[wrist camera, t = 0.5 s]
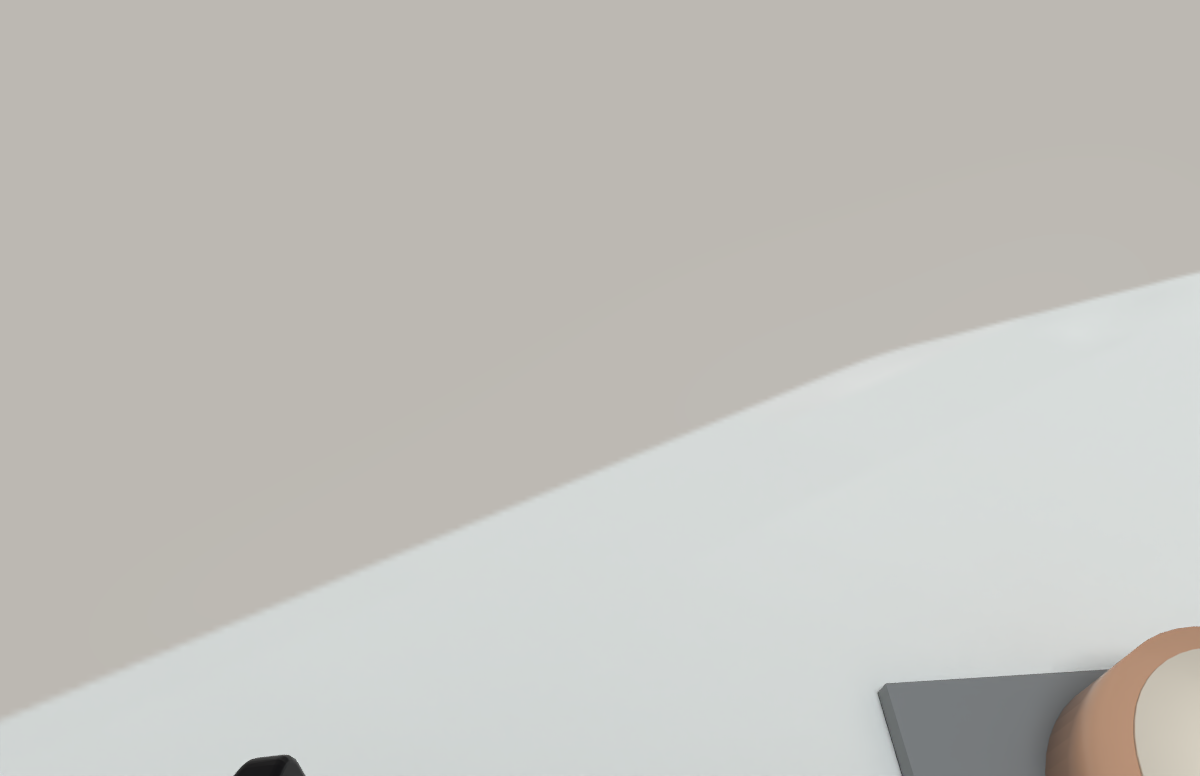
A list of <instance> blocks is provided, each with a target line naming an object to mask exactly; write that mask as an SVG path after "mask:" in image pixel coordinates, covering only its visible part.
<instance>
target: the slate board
mask: <svg viewBox="0 0 1200 776" xmlns="http://www.w3.org/2000/svg"><path fill="white" fill-rule="evenodd" d="M1107 671H1108V670H1094V671H1078V672H1062V673H1046V674H1030V675H1014V676H998V677H982V678H966V679H950V680H934V681H918V682H903V683H887V684H885V685H884V686H883V687H882V689H881V690H880V691H879V692H878V694H879V698H880V701H881V704H882V708H883V711H884V714H885V718H886V721H887V725H888V728H889V731H890V735H891V738H892V741H893V745H894V748H895V752H896V755H897V758H898V762H899V765H900V768H901V772H902V775H903V776H1045V767H1046V753H1047V748H1048V743H1049V738H1050V735H1051V732H1052V730H1053V727H1054V724H1055V722H1056V720H1057V719H1058V717H1059V715H1060V714H1061V712H1062V710H1063V709H1064V708H1065V707H1066V705H1067V704H1068V703H1069V702H1070V701H1071V700H1072V699H1073V698H1074V697H1075V696H1076V695H1078V694H1079V693H1080V692H1081V691H1083V690H1084V689H1085V688H1086V687H1088V686H1089V685H1090V684H1091V683H1093V682H1094V681H1095V680H1097V679H1098V678H1099V677H1100V676H1102V675H1103V674H1104V673H1105V672H1107Z"/></svg>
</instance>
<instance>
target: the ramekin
mask: <svg viewBox="0 0 1200 776" xmlns="http://www.w3.org/2000/svg"><path fill="white" fill-rule="evenodd" d="M1045 776H1200V627H1186V628H1178V629H1174V630H1170V631H1167V632H1164V633H1160V634H1158V635H1156V636H1154V637H1152V638H1150V639H1148V640H1146V641H1145V642H1144V643H1142V644H1141V645H1140V646H1139V647H1137V648H1136V649H1135V650H1133V651H1132V652H1131V653H1130V654H1128V655H1127V656H1126V657H1124V658H1123V659H1122V660H1121V661H1119V662H1118V663H1117V664H1116V665H1114V666H1113V667H1112V668H1111V669H1109V670H1108V671H1107V672H1105V673H1104V674H1103V675H1102V676H1100V677H1099V678H1098V679H1097V680H1095V681H1094V682H1093V683H1091V684H1090V685H1089V686H1088V687H1086V688H1085V689H1084V690H1083V691H1081V692H1080V693H1079V694H1078V695H1076V696H1075V697H1074V698H1073V699H1072V700H1071V701H1070V702H1069V703H1068V704H1067V705H1066V707H1065V708H1064V709H1063V710H1062V712H1061V714H1060V715H1059V717H1058V719H1057V720H1056V722H1055V724H1054V727H1053V730H1052V732H1051V735H1050V738H1049V743H1048V748H1047V753H1046V767H1045Z"/></svg>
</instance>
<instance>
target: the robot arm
mask: <svg viewBox="0 0 1200 776" xmlns="http://www.w3.org/2000/svg"><path fill="white" fill-rule="evenodd" d="M234 776H305V774H304V773H303V771H302V769H301V767H300V765H299V764H298V762H297V761H296V759H294V758H293V757H291V756H289V755H278V756H269V757H260V758H255V759H252V760H250V761H248V762H246V763H245V764H244V765H243V766H242V767H241V768H240V769H239V770H238V771H237V772H236V774H235V775H234Z"/></svg>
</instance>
